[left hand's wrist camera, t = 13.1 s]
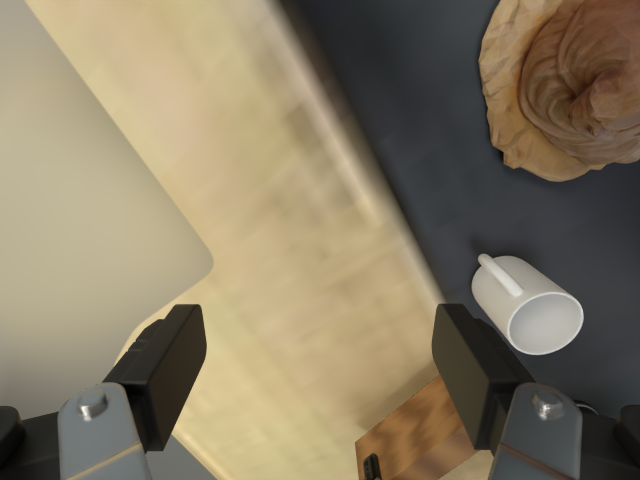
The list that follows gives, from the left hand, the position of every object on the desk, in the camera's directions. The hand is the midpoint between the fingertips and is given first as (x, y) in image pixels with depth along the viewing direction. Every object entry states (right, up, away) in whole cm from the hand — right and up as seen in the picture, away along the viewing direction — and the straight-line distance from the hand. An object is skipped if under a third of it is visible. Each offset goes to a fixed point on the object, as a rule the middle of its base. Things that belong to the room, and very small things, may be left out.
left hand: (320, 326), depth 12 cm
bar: (+15, -22, +40) cm, 48 cm away
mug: (+24, -1, +35) cm, 43 cm away
